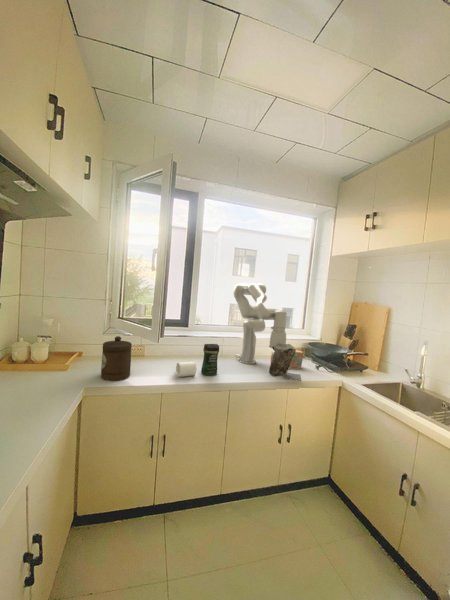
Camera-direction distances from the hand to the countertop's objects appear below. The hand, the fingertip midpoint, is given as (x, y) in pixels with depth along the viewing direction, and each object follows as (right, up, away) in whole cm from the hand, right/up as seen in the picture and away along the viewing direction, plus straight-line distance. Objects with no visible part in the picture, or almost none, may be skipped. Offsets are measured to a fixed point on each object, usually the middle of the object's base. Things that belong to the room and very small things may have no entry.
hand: (276, 357), depth 167 cm
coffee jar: (-43, -8, -9) cm, 45 cm away
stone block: (+1, -11, 0) cm, 11 cm away
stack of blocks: (+11, -11, +20) cm, 25 cm away
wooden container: (-94, -5, -26) cm, 98 cm away
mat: (+10, -12, -1) cm, 16 cm away
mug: (-58, -7, -14) cm, 60 cm away
